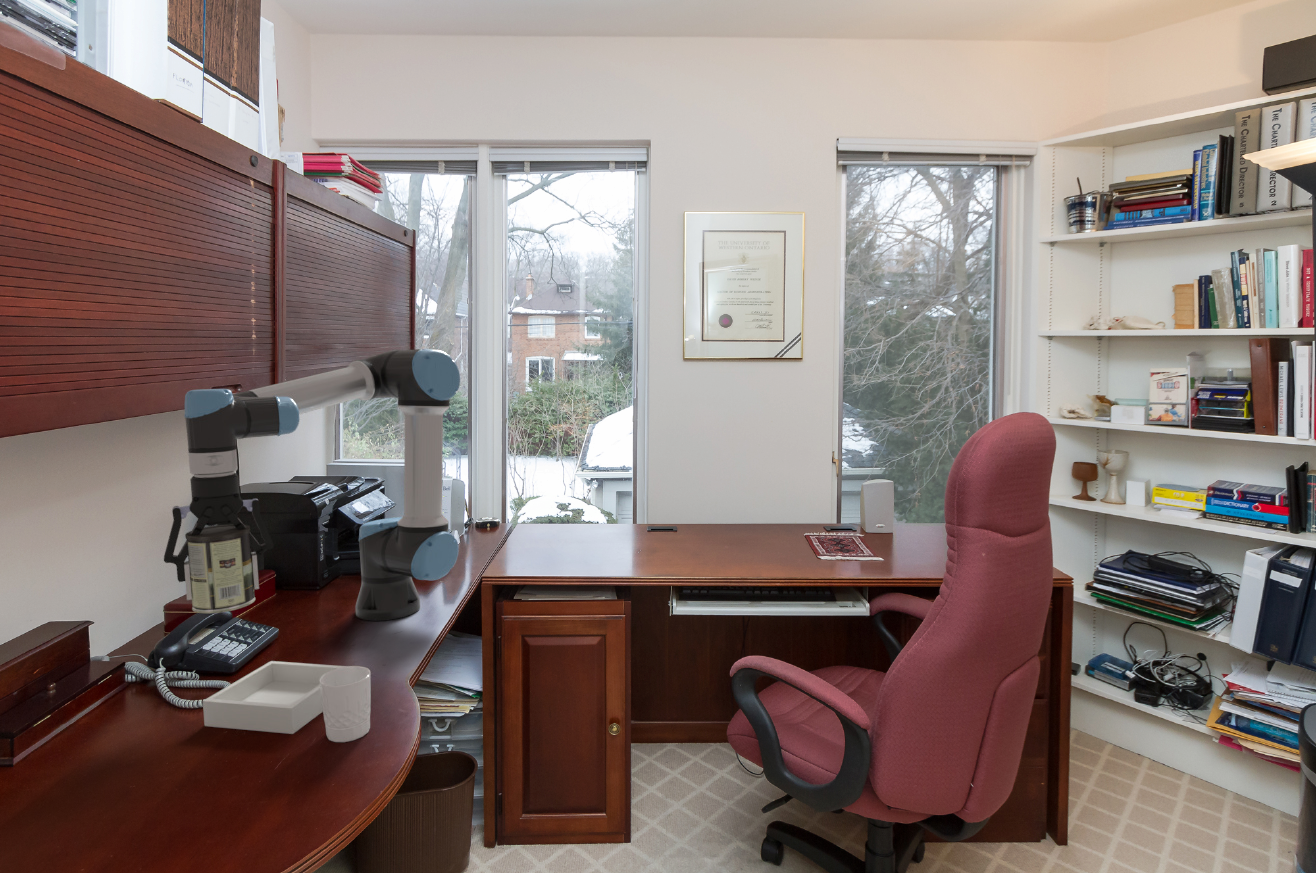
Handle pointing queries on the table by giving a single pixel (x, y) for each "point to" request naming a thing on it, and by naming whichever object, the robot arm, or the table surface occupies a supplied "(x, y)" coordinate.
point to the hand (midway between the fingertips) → (223, 592)
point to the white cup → (346, 702)
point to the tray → (269, 698)
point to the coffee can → (220, 569)
